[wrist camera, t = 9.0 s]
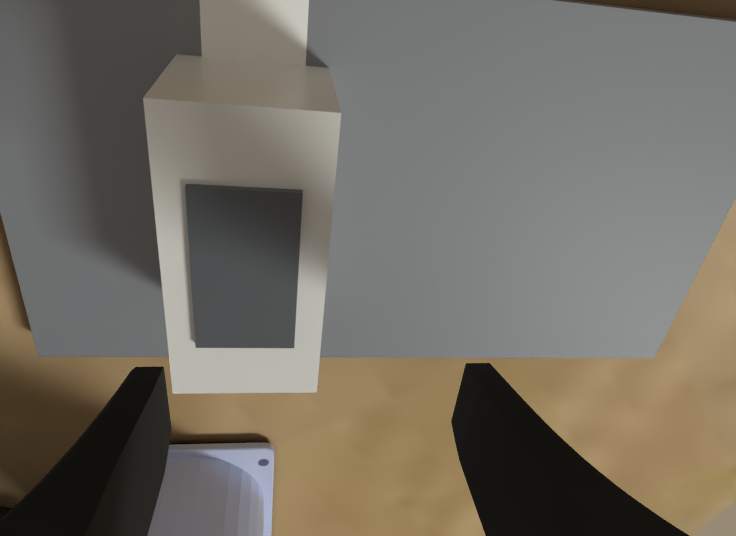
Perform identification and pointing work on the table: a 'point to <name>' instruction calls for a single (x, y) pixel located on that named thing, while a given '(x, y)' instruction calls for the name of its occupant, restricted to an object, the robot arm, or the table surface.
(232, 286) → the block
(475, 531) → the table surface
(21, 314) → the table surface
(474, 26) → the board
